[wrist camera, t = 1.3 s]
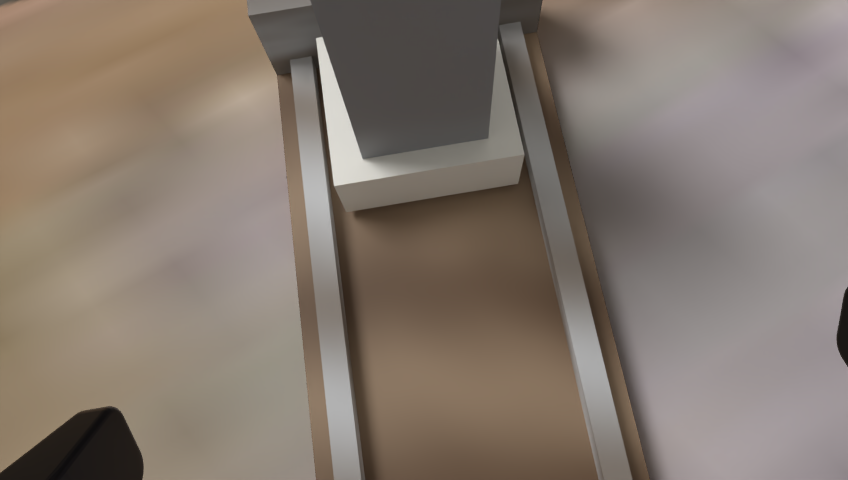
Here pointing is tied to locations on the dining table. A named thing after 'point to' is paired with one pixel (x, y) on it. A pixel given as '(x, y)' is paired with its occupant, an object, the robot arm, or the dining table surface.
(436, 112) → the carriage
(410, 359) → the track
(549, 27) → the dining table surface
